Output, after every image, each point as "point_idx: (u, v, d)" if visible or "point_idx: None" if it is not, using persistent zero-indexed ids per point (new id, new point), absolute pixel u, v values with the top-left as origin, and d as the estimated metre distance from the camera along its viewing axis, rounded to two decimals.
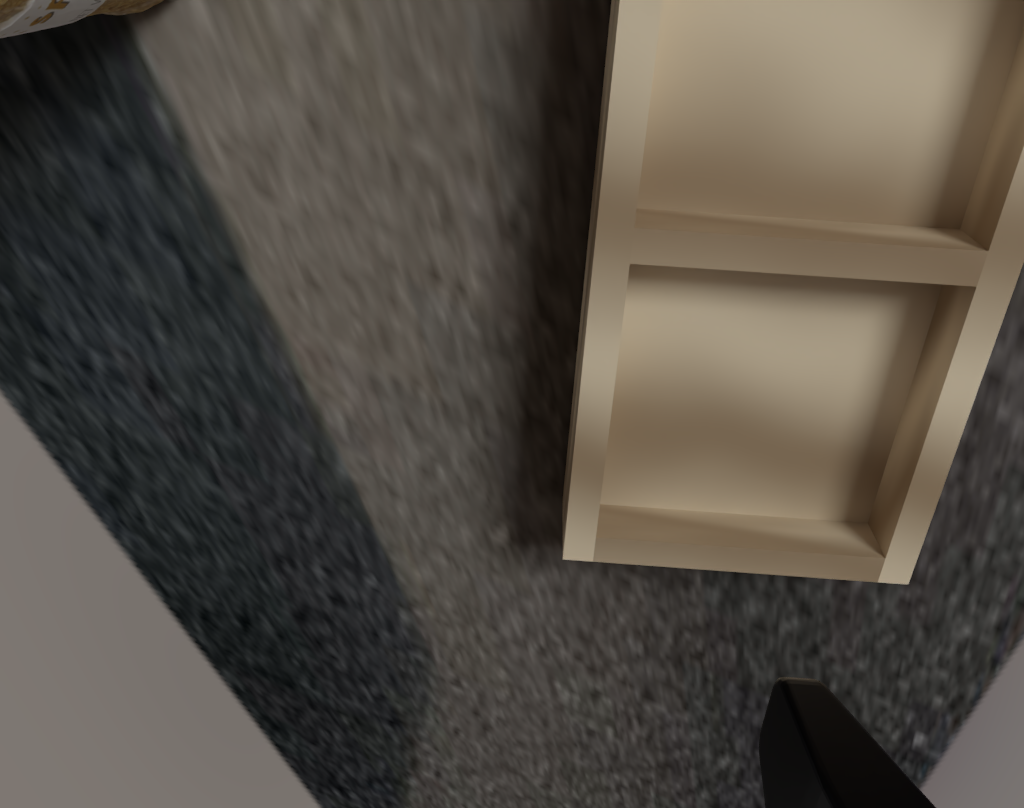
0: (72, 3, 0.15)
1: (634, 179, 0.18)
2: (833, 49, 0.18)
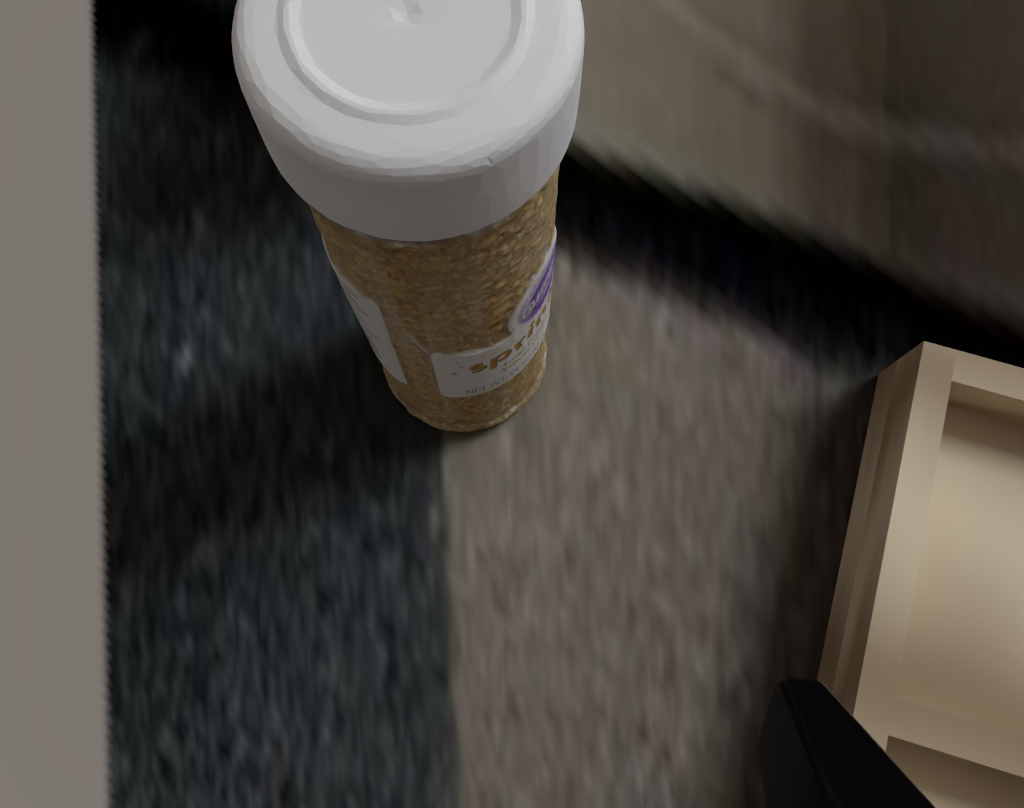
0: (494, 370, 0.18)
1: (897, 648, 0.19)
2: None
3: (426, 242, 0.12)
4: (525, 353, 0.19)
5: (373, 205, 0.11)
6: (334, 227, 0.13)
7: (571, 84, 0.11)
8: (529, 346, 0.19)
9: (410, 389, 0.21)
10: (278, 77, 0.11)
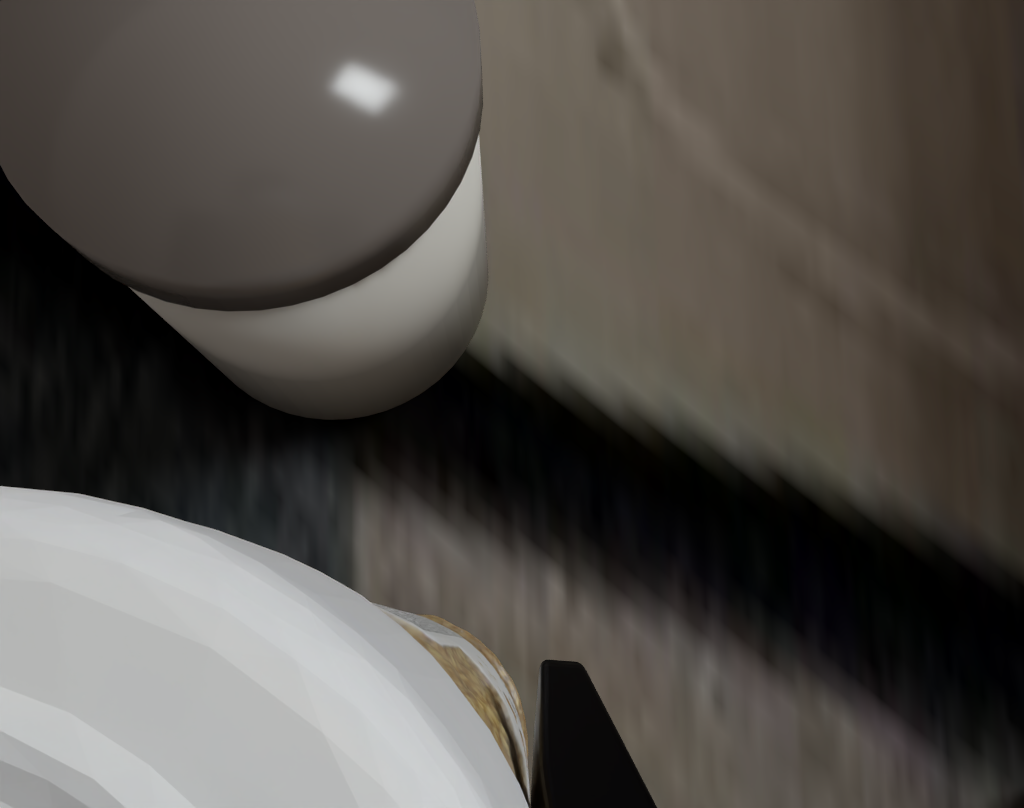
0: None
1: None
2: None
3: None
4: None
5: None
6: None
7: None
8: None
9: None
10: None
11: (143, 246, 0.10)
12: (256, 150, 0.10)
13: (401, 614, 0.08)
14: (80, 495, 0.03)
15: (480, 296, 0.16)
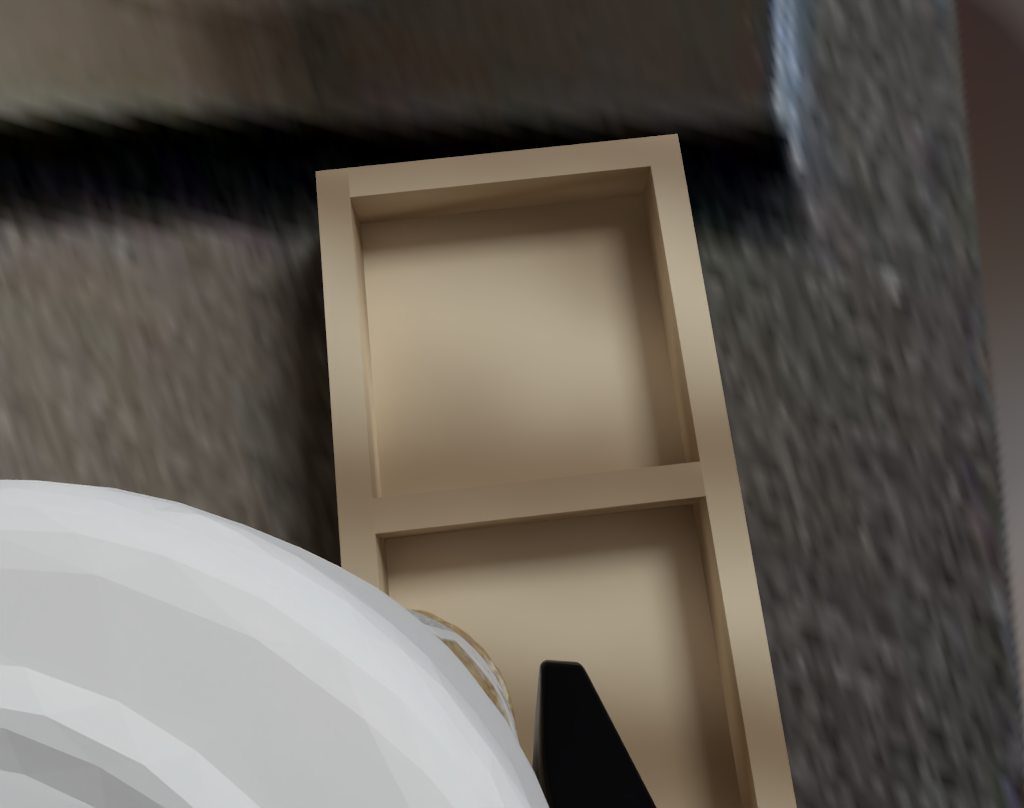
0: None
1: (364, 454, 0.20)
2: (521, 348, 0.22)
3: None
4: None
5: None
6: None
7: None
8: None
9: None
10: None
11: None
12: None
13: None
14: (116, 491, 0.03)
15: None
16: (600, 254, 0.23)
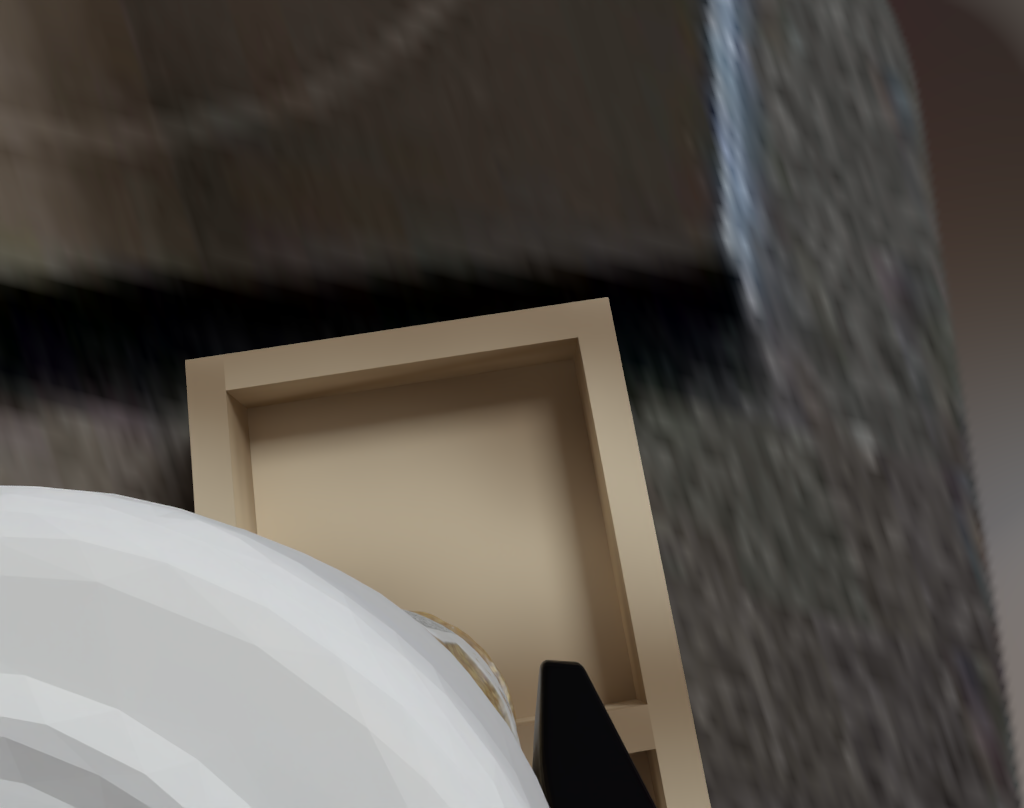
0: None
1: None
2: (436, 554, 0.19)
3: None
4: None
5: None
6: None
7: None
8: None
9: None
10: None
11: None
12: None
13: None
14: (117, 496, 0.03)
15: None
16: (526, 433, 0.19)
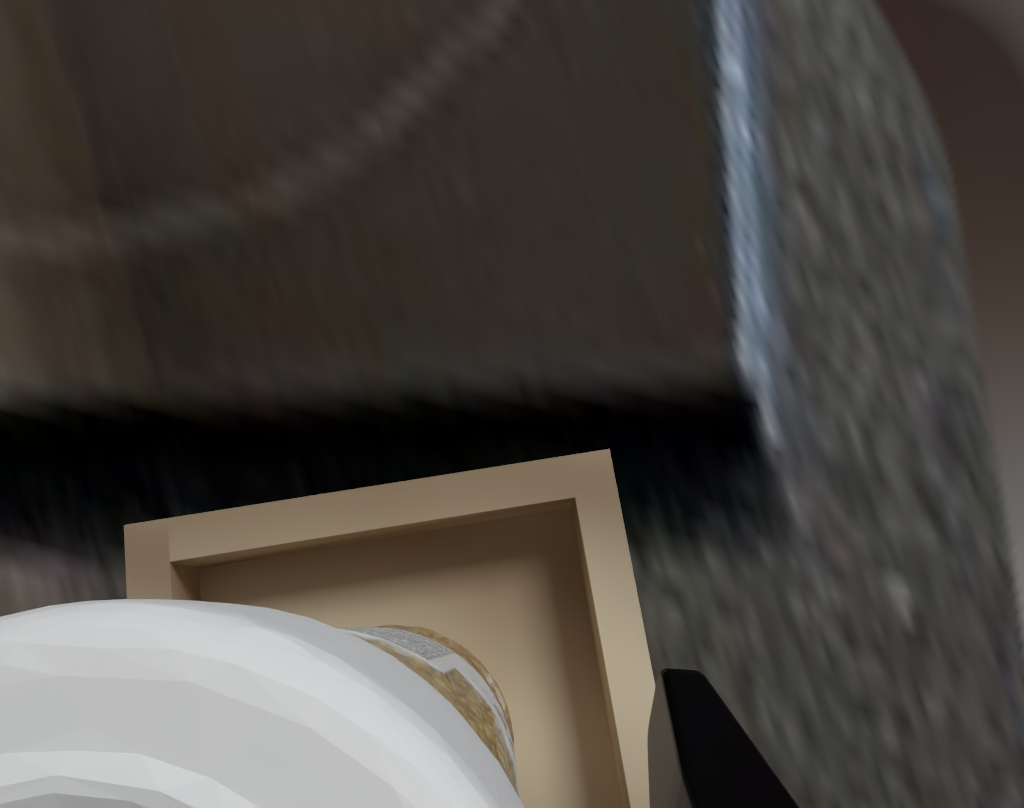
0: None
1: None
2: None
3: None
4: None
5: None
6: None
7: None
8: None
9: None
10: None
11: None
12: None
13: (405, 643, 0.09)
14: (194, 607, 0.04)
15: None
16: (517, 597, 0.17)
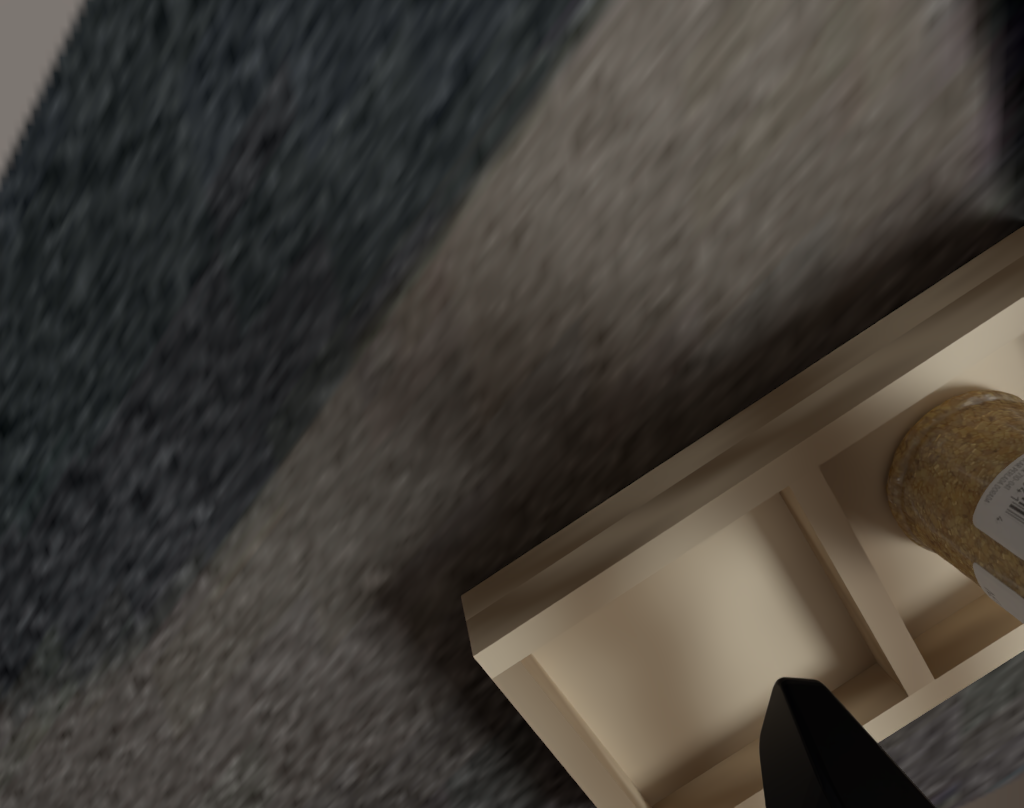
0: None
1: (853, 437, 0.20)
2: None
3: None
4: None
5: None
6: None
7: None
8: None
9: (956, 509, 0.20)
10: None
11: None
12: None
13: None
14: None
15: None
16: None
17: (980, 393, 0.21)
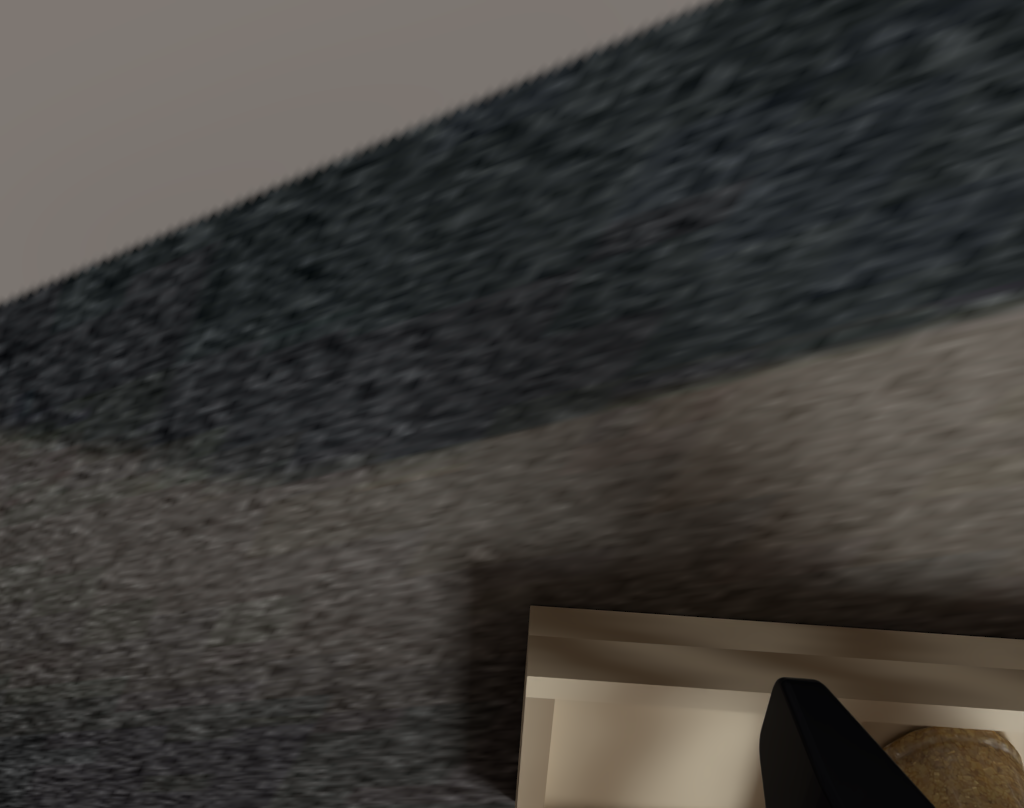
0: None
1: (902, 720, 0.23)
2: None
3: None
4: None
5: None
6: None
7: None
8: None
9: None
10: None
11: None
12: None
13: None
14: None
15: None
16: None
17: (1000, 739, 0.25)
